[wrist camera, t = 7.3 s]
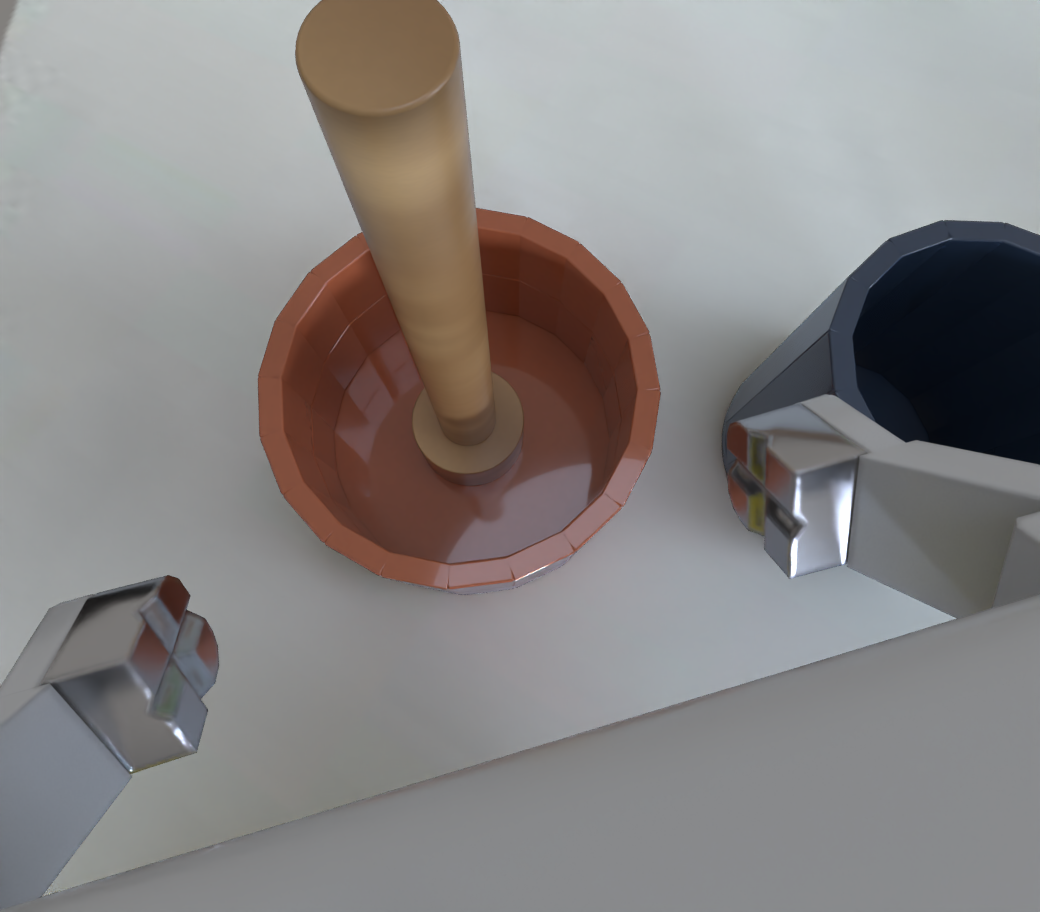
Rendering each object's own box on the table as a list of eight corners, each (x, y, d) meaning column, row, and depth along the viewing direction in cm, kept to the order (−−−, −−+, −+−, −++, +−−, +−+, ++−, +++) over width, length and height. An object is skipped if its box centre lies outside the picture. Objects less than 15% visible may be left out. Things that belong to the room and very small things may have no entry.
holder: (842, 608, 26) (1033, 605, 17) (676, 446, 28) (763, 357, 18) (981, 456, 28) (1230, 374, 18) (817, 311, 29) (966, 164, 20)
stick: (468, 507, 27) (354, 253, 8) (399, 432, 27) (142, 36, 8) (544, 437, 27) (611, 51, 8) (475, 367, 28) (395, -134, 9)
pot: (460, 663, 26) (441, 681, 19) (259, 431, 28) (176, 373, 21) (686, 446, 28) (741, 393, 21) (482, 248, 30) (473, 141, 23)
